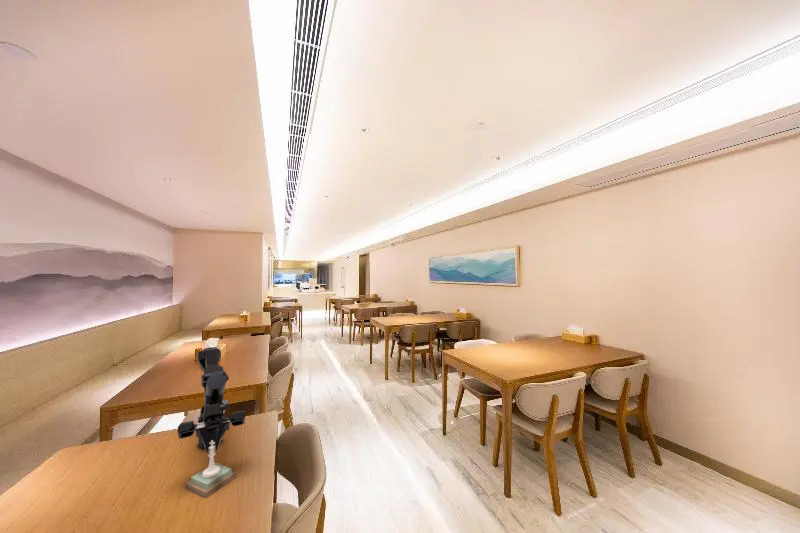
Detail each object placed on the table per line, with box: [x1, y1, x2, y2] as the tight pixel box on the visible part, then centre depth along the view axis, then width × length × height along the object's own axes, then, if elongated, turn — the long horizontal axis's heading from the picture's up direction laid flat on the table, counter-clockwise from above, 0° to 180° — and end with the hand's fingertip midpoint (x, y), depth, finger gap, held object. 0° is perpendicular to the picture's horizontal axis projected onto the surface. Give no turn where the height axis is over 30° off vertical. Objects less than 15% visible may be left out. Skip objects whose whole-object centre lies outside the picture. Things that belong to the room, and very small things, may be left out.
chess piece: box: [202, 440, 220, 477], centre depth 94 cm, size 5×5×10 cm
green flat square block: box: [184, 462, 238, 499], centre depth 93 cm, size 10×10×3 cm
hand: (211, 451), depth 92 cm, fingers closed
